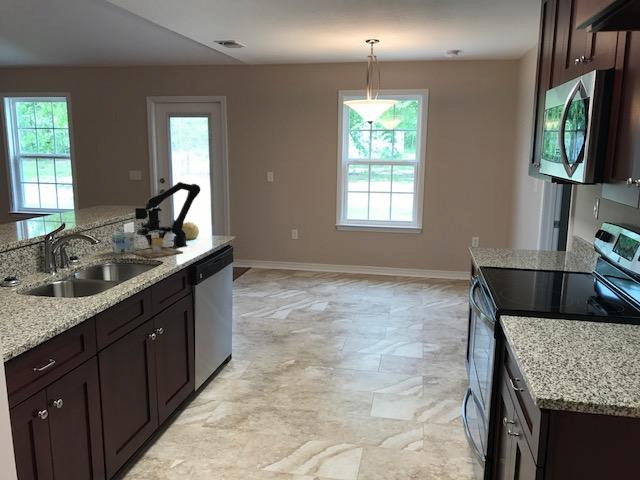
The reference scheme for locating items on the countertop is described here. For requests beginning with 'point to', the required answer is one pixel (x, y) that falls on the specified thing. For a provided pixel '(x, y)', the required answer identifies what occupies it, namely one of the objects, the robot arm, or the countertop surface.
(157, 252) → the grey metal block
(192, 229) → the sculpture
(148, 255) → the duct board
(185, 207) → the robot arm
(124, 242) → the light bulb box
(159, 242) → the collar
